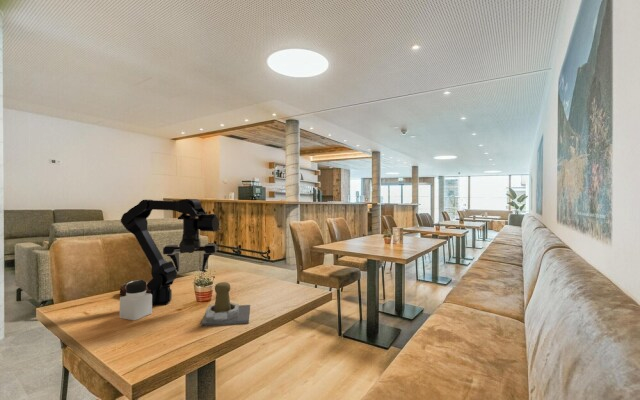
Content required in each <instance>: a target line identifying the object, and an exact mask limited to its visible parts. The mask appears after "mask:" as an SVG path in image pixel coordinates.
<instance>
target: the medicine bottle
mask: <svg viewBox="0 0 640 400" xmlns="http://www.w3.org/2000/svg"><path fill="white" fill-rule="evenodd" d="M142 280H143V279H142ZM142 280H141V279H137V280H132V281H129V282H126V283H127V284H126V283H125V284H126V296H120V297H119V319H125V320H128V321H133V322H135V321H137V320H139V319H143V318H145V317H147V316H149V315H151V314H152V313H153V305H152V294H151V293H150V294H149V293H146V282H147V281H146V280H143V281H142ZM145 281H146V282H145Z"/></svg>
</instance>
